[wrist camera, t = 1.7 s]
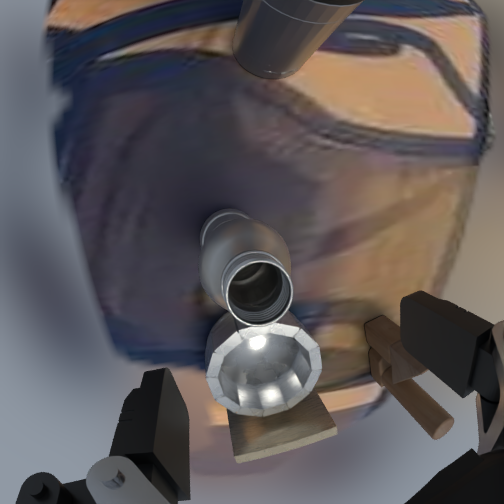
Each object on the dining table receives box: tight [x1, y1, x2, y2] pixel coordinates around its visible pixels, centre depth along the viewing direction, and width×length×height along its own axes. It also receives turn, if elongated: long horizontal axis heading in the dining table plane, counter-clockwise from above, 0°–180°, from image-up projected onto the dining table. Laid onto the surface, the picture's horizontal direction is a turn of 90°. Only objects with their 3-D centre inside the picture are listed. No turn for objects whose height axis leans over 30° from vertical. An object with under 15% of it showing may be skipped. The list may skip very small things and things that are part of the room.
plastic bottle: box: [198, 208, 293, 327], centre depth 25 cm, size 6×7×20 cm
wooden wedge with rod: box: [365, 315, 454, 440], centre depth 33 cm, size 4×11×18 cm, turn 18°
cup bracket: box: [205, 310, 337, 463], centre depth 32 cm, size 16×12×12 cm
